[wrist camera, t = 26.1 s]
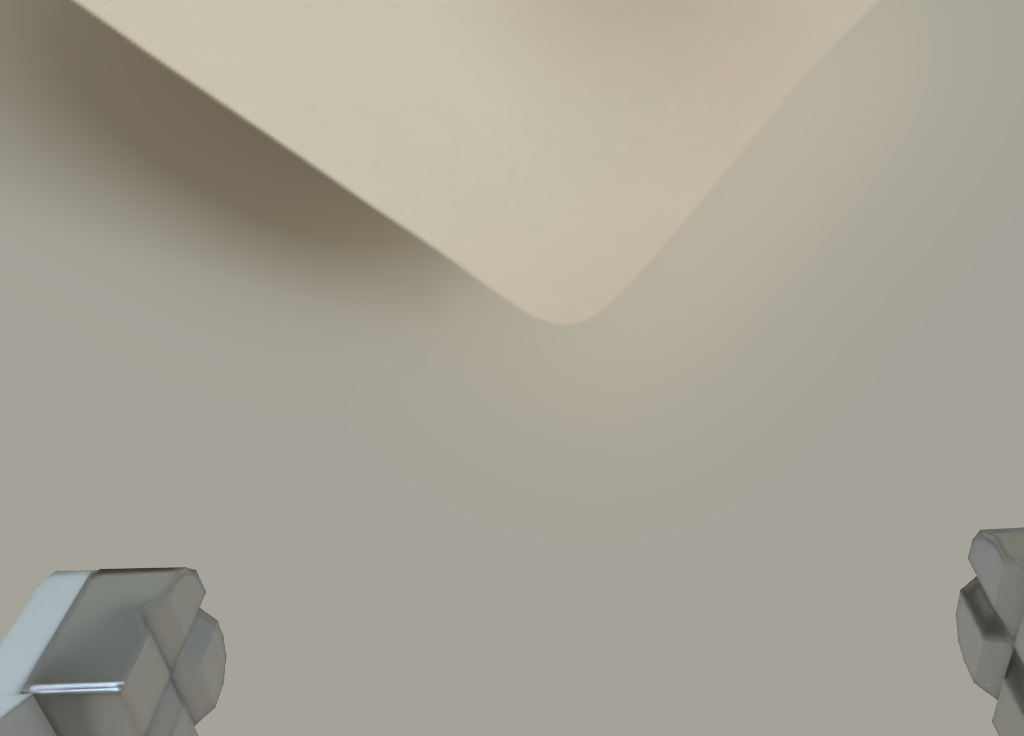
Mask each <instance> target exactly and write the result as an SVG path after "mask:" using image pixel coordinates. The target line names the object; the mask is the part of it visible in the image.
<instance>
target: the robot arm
mask: <svg viewBox="0 0 1024 736" xmlns="http://www.w3.org/2000/svg"><path fill="white" fill-rule="evenodd" d="M968 560H969V562H970V564H971V565H972V567H973V569H974V571H975V573H976V575H977V576H976V577H975V578H974V579H973V580H972V581H970V582H969V583H968V584H967V585H966V586H965V587H963V588H962V589H961V590H960V595H959V600H958V606H957V611H956V621H957V633H958V641H959V645H960V648H961V652H962V655H963V659H964V662H965V664H966V666H967V668H968V671H969V673H970V675H971V677H972V680H973V682H974V683H975V684H976V685H978V686H979V687H980V688H982V689H983V690H985V691H986V692H987V693H989V694H990V695H991V696H993V697H994V698H995V699H997V700H998V702H997V705H996V709H995V713H994V716H993V720H992V723H993V725H994V727H995V729H996V731H997V733H998V735H999V736H1024V527H1023V528H1005V529H988V530H980V531H979V532H978V533H977V535H976V536H975V537H974V539H973V540H972V544H971V548H970V551H969V555H968ZM205 593H206V591H205V589H204V586H203V584H202V582H201V580H200V578H199V575H198V573H197V571H196V570H193V569H189V568H186V567H183V568H181V567H179V568H131V569H100V570H84V571H56V572H54V573H52V574H51V575H49V576H48V577H46V578H45V579H43V580H42V582H41V583H40V584H39V586H38V588H37V589H36V591H35V592H34V594H33V595H32V597H31V598H30V600H29V601H28V603H27V605H26V606H25V608H24V609H23V611H22V612H21V614H20V615H19V617H18V618H17V620H16V621H15V623H14V625H13V626H12V628H11V629H10V631H9V632H8V634H7V635H6V637H5V639H4V640H3V641H2V643H1V645H0V736H198V734H197V731H196V729H195V725H196V724H197V723H198V722H199V721H201V720H202V719H203V718H204V717H205V716H206V715H207V714H208V713H210V712H211V711H212V710H213V709H214V708H215V706H216V704H217V701H218V698H219V695H220V692H221V689H222V686H223V682H224V673H225V664H226V651H225V644H224V637H223V634H222V631H221V629H220V626H219V623H218V621H217V620H216V619H215V618H213V617H212V616H211V615H209V614H208V613H206V612H205V611H204V610H202V609H201V608H199V607H200V605H201V603H202V600H203V598H204V596H205Z"/></svg>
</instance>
